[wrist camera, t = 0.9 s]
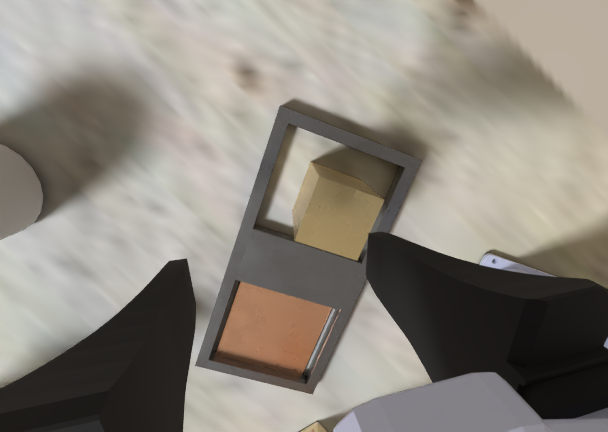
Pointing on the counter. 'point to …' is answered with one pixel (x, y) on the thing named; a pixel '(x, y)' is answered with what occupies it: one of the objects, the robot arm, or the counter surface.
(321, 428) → the coffeecake box
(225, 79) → the counter surface
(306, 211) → the brass block
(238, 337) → the gray rectangular frame
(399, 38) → the counter surface
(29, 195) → the can
